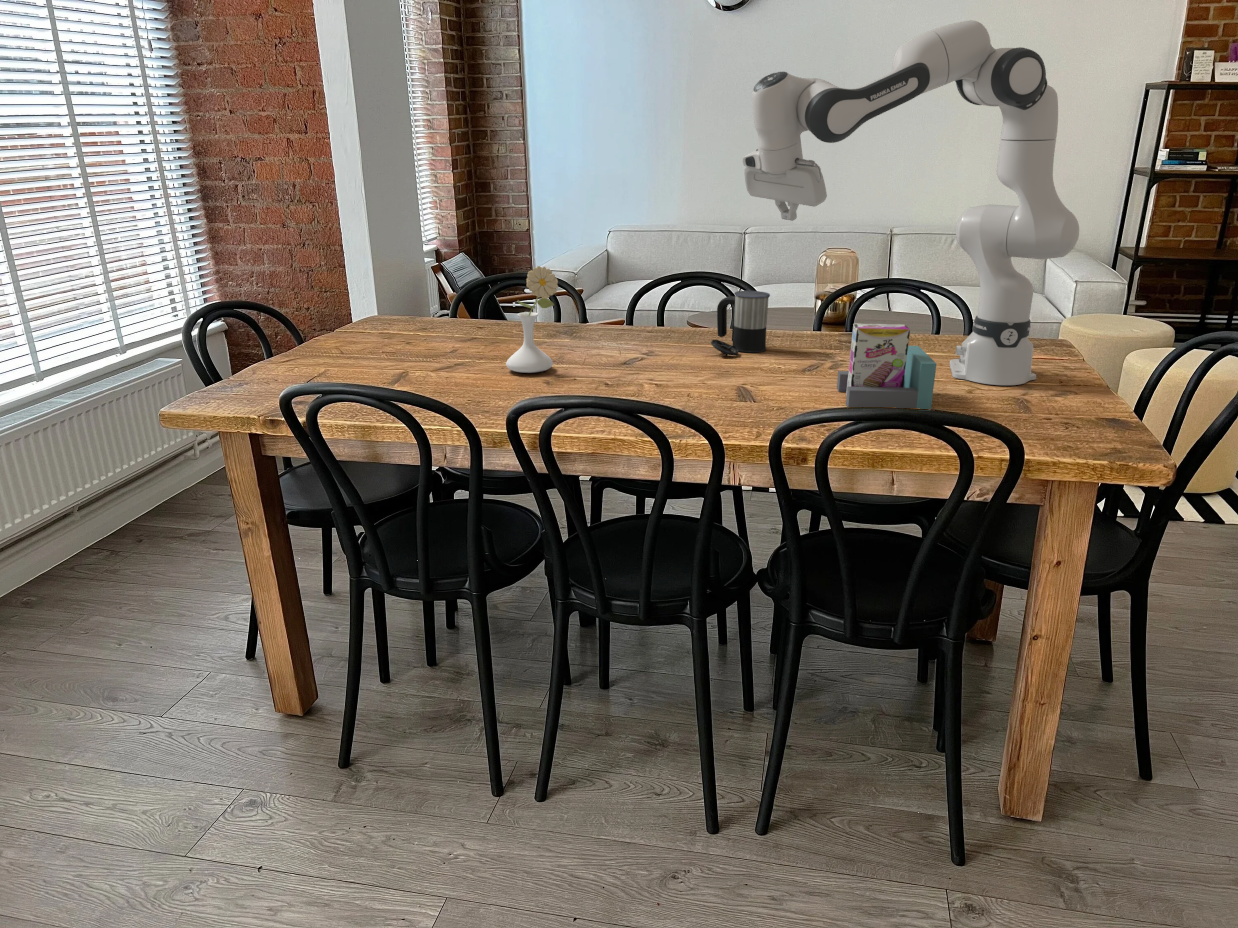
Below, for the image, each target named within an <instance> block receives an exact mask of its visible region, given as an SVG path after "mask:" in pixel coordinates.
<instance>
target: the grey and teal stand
mask: <svg viewBox="0 0 1238 928" xmlns="http://www.w3.org/2000/svg"><path fill="white" fill-rule="evenodd" d="M848 371H849V370H838V371H837V381H836V389H837V392H839V393H846V391H847V397H846V396H845V397H846V399H845V407H896V408H920V409H931V410H932V403H933V398H934V397H933V395H934V389H935V387H934V385H935V379H936V371H937V362H935V361H934V359H933V358H931V356H929V355H928V354H927V352H925V350H923V349H922V348H921V347H920V346H919V345H908V351H907V359H906V367H905V375H904V383H903V388H901V387H847V381H848Z"/></svg>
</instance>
